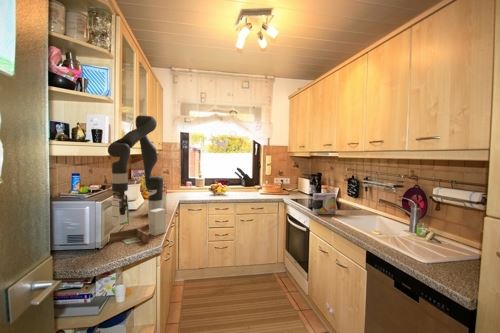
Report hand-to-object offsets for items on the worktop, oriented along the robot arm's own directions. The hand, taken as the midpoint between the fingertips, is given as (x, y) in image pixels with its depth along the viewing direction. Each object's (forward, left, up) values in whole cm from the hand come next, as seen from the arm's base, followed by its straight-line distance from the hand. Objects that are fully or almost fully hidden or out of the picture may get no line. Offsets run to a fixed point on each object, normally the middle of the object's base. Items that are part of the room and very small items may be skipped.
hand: (120, 213), depth 137 cm
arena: (-3, +5, -18) cm, 19 cm away
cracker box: (-57, +47, -18) cm, 76 cm away
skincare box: (-8, +24, -18) cm, 31 cm away
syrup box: (0, 0, -6) cm, 6 cm away
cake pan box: (+34, +149, -18) cm, 153 cm away
